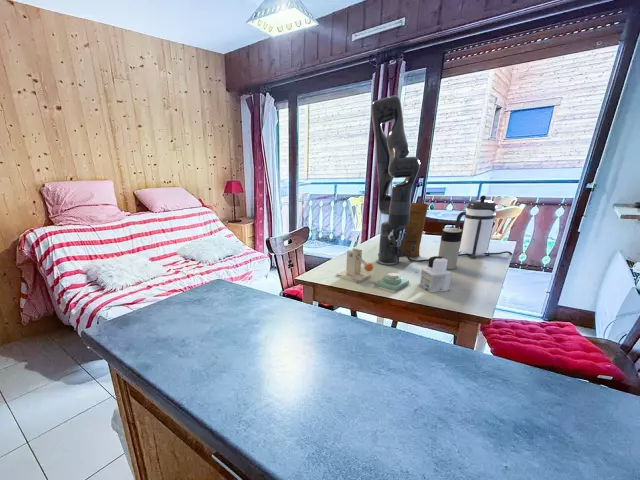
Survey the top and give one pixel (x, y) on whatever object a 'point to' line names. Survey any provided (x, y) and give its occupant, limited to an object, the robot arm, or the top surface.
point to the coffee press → (477, 226)
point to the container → (436, 275)
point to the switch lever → (364, 263)
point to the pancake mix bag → (414, 229)
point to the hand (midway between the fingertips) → (395, 255)
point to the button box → (391, 283)
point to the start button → (392, 276)
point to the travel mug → (450, 246)
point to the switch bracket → (353, 266)
